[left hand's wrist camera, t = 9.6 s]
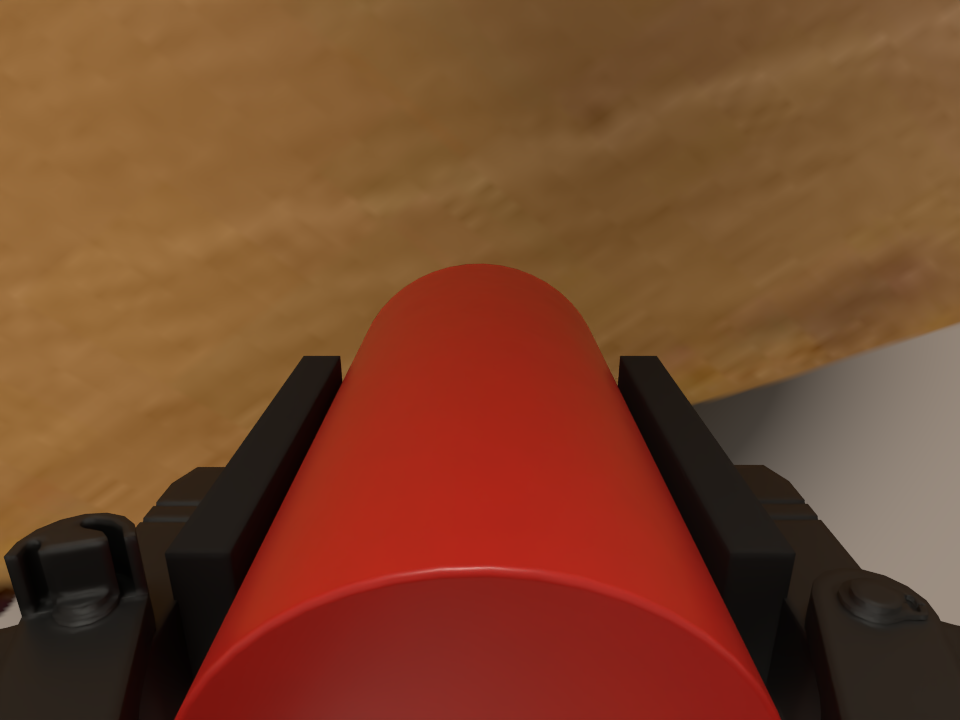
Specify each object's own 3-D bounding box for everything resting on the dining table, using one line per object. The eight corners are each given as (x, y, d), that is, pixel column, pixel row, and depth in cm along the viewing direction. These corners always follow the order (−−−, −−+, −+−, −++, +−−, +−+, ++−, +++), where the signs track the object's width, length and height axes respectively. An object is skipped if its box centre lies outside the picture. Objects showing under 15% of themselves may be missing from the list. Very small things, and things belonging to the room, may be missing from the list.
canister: (514, 523, 17) (561, 1073, 8) (316, 417, 16) (63, 896, 6) (648, 345, 16) (939, 756, 6) (436, 213, 15) (344, 441, 5)
